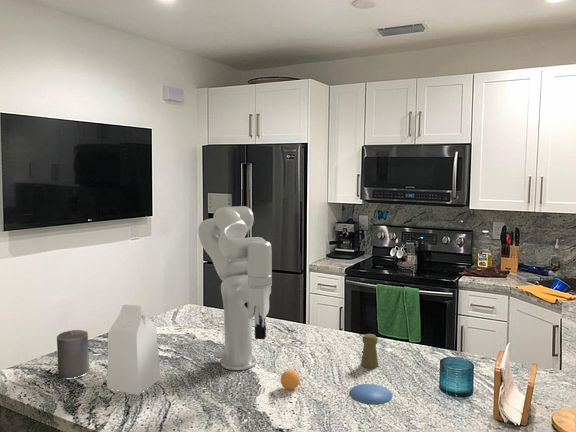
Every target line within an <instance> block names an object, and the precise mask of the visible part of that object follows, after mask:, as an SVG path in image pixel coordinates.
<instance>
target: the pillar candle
mask: <svg viewBox="0 0 576 432" xmlns="http://www.w3.org/2000/svg"><path fill="white" fill-rule="evenodd" d="M88 333H89V332H88V331H86V330H83V329H82V330H81V329H72V330H67V331H63V332H60V333H59V334H58V335H57V336H56V345H57V346H56V347H57V352H56V353H57V374H58V375H59V376H58V375H57V376H58V378H59V377H61V378H74V377H78V376H81V375H83V374H85V373H87V372H88V371H89V372H90V358H89V357H90V356H89V354H90V353H89V352H90V351H89V334H88ZM89 372H88V373H89ZM88 373H87V374H88ZM61 378H60V379H61Z"/></svg>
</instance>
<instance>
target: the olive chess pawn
mask: <svg viewBox="0 0 576 432" xmlns="http://www.w3.org/2000/svg"><path fill="white" fill-rule="evenodd" d="M362 344H363V349H362V355H361V362H360V367H362V368H364V369H368V370H370V369H371V370H373V369H377V368H378V367H379V360H378V352H377V344H378V337H377V335H375V334H372V333H365V334H364V335H363V336H362Z"/></svg>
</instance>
